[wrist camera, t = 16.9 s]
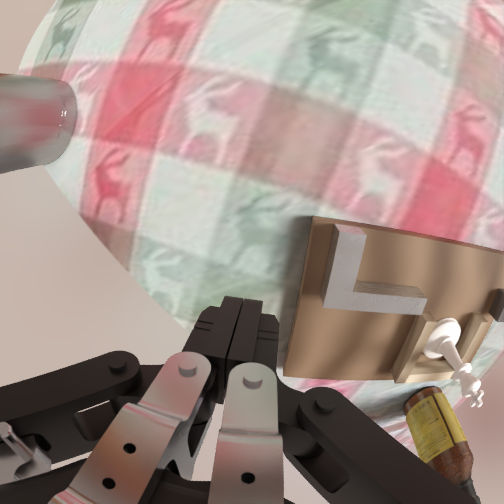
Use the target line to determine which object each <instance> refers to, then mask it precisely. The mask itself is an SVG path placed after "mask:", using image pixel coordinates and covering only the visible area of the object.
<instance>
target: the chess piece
mask: <svg viewBox="0 0 504 504" xmlns="http://www.w3.org/2000/svg"><path fill="white" fill-rule="evenodd" d="M460 333H461V329H460V326H459V324H458V322H457V321H456V320H455V319H454V318H444V319H441V320H439V321H437V322H436V324H435V327H434V329H433V331H432V333H431V335H430V337H429V339H428V341H427V343H426V345H425V347H424V349H423V351H422V352H423V353H424V354H425V356H427V357H428V358H438V357H441V356H444V357H445V359H446V360H447V361H448V362H449V363H450V365H451V366H452V367H453V368H454V370H455V372H454V373H453V376H452V378H453V380H455V381H460V382H461V389H462V396H463V397H469V396H472V398H473V400H472V401H471V402H470V403H469V404H470V406H471V407H473V406H475V405H476V406H477V407H480V406H481V405H482V404H483V402H482V400H481V397H482V395H483V394H484V391H483V390H479V392H478V393H477V390H478V389H479V387H480V385H481V382H480V380H478V379H477V378H475V377H474V376H473V375H471V374H470V371H471V364H470V363H465V364H463V363H462V361H461V359H460V356H459V354H458V352H457V350H456V347H455V345H456V343H457V342H458V340H459V337H460Z"/></svg>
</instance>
